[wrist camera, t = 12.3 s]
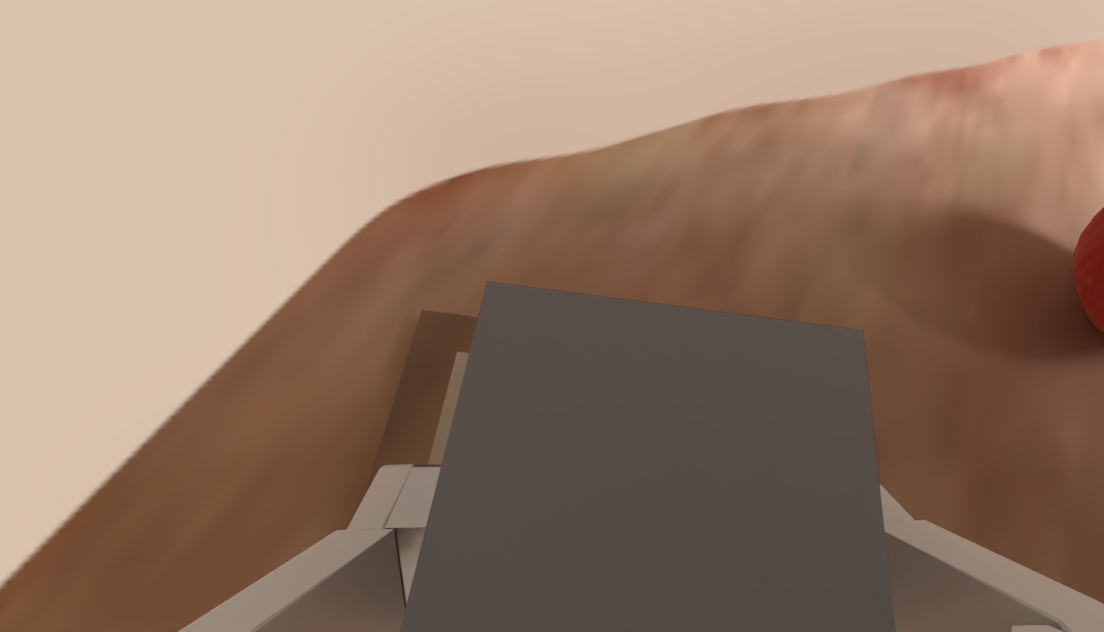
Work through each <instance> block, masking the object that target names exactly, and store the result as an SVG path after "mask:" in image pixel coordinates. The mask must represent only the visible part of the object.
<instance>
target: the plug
mask: <svg viewBox="0 0 1104 632" xmlns="http://www.w3.org/2000/svg"><path fill="white" fill-rule="evenodd" d="M400 632H896V630H895V621H894V612H893V603H892V593H891V584H890V575H889V566H888V557H887V547H886V538H885V529H884V520H883V511H882V501H881V492H880V483H879V474H878V465H877V455H876V446H875V437H874V428H873V419H872V409H871V400H870V391H869V382H868V373H867V363H866V354H865V345H864V336H863V330H856V329H849V328H841V327H833V326H826V325H818V324H810V323H803V322H795V321H787V320H780V319H772V318H764V317H757V316H749V315H741V314H733V313H726V312H718V311H710V310H703V309H695V308H687V307H680V306H672V305H664V304H657V303H649V302H641V301H634V300H626V299H618V298H611V297H603V296H595V295H588V294H580V293H572V292H565V291H557V290H549V289H541V288H534V287H526V286H518V285H511V284H503V283H495V282H488V281H487V284H486V288H485V292H484V296H483V300H482V304H481V308H480V312H479V316H478V320H477V324H476V328H475V332H474V336H473V340H472V344H471V348H470V352H469V356H468V360H467V364H466V368H465V372H464V376H463V380H462V384H461V388H460V392H459V396H458V400H457V404H456V408H455V412H454V416H453V420H452V424H451V428H450V432H449V436H448V440H447V444H446V448H445V452H444V456H443V460H442V464H441V468H440V472H439V476H438V480H437V484H436V488H435V492H434V496H433V500H432V504H431V508H430V512H429V516H428V520H427V524H426V528H425V532H424V536H423V540H422V544H421V548H420V552H419V556H418V560H417V564H416V568H415V572H414V576H413V580H412V584H411V588H410V592H409V596H408V600H407V604H406V608H405V612H404V616H403V620H402V624H401V628H400Z"/></svg>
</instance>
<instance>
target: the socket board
mask: <svg viewBox="0 0 1104 632" xmlns="http://www.w3.org/2000/svg"><path fill="white" fill-rule="evenodd" d="M477 320H478V318H476V317H468V316H461V315H454V314H446V313H439V312H432V311H425V310H422V313H421V316H420V319H419V322H418V326H417V329H416V332H415V336H414V339H413V342H412V345H411V349H410V352H409V355H408V359H407V362H406V365H405V368H404V372H403V375H402V378H401V382H400V385H399V388H398V391H397V395H396V398H395V401H394V404H393V408H392V411H391V414H390V418H389V421H388V424H387V427H386V431H385V434H384V437H383V441H382V444H381V447H380V450H379V454H378V457H377V460H376V464H375V467H374V470H373V473H372V477H371V480H370V483H369V487H370V485H371V483H372V481H373V480H374V478H375V476H376V474H377V472H378V470H379V469H380V468H381V467H382V466H385V465H402V464H413V465H416V464H439V465H441V464H442V460H443V456H444V452H445V448H446V444H447V440H448V436H449V432H450V428H451V424H452V420H453V416H454V412H455V408H456V404H457V400H458V396H459V392H460V388H461V384H462V380H463V376H464V372H465V368H466V364H467V360H468V356H469V352H470V348H471V344H472V340H473V336H474V332H475V328H476V324H477ZM369 487H368V489H369ZM367 491H368V490H367Z"/></svg>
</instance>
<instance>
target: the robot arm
mask: <svg viewBox="0 0 1104 632" xmlns="http://www.w3.org/2000/svg"><path fill="white" fill-rule="evenodd" d="M440 468H441V465H439V464H416V465H413V464H402V465H385V466H382V467H381V468H380V469H379V470H378V472H377V474H376V476H375V478H374V480H373V481H372V483H371V485H370V487H369V489H368V491H367V492H366V494H365V496H364V498H363V500H362V502H361V504H360V505H359V507H358V509H357V511H356V513H355V515H354V516H353V518H352V520H351V522H350V524H349V526H348V527H347V529H346V530H336V531H334V532H333V533H331V534H330V535H328V536H327V537H325V538H323V539H322V540H320V541H319V542H317V543H316V544H314V545H312V546H311V547H309V548H308V549H306V550H305V551H303V552H301V553H300V554H298V555H297V556H295V557H294V558H292V559H290V560H289V561H287V562H286V563H284V564H283V565H281V566H280V567H278V568H276V569H275V570H273V571H272V572H270V573H269V574H267V575H265V576H264V577H262V578H261V579H259V580H258V581H256V582H254V583H253V584H251V585H250V586H248V587H247V588H245V589H244V590H242V591H240V592H239V593H237V594H236V595H234V596H233V597H231V598H229V599H228V600H226V601H225V602H223V603H222V604H220V605H218V606H217V607H215V608H214V609H212V610H211V611H209V612H208V613H206V614H204V615H203V616H201V617H200V618H198V619H197V620H195V621H193V622H192V623H190V624H189V625H187V626H186V627H184V628H182V629H181V630H179V631H178V632H400V628H401V624H402V620H403V616H404V612H405V608H406V604H407V600H408V596H409V592H410V588H411V584H412V580H413V576H414V572H415V568H416V564H417V560H418V556H419V552H420V548H421V544H422V540H423V536H424V532H425V528H426V524H427V520H428V516H429V512H430V508H431V504H432V500H433V496H434V492H435V488H436V484H437V480H438V476H439V472H440ZM880 492H881V501H882V511H883V520H884V529H885V538H886V547H887V557H888V566H889V575H890V584H891V593H892V603H893V612H894V621H895V630H896V632H1104V604H1103V603H1101V602H1099V601H1097V600H1095V599H1093V598H1091V597H1088V596H1086V595H1084V594H1082V593H1080V592H1078V591H1076V590H1074V589H1071V588H1069V587H1067V586H1065V585H1063V584H1061V583H1059V582H1056V581H1054V580H1052V579H1050V578H1048V577H1046V576H1044V575H1042V574H1039V573H1037V572H1035V571H1033V570H1031V569H1029V568H1027V567H1024V566H1022V565H1020V564H1018V563H1016V562H1014V561H1012V560H1010V559H1007V558H1005V557H1003V556H1001V555H999V554H997V553H995V552H993V551H990V550H988V549H986V548H984V547H982V546H980V545H978V544H975V543H973V542H971V541H969V540H967V539H965V538H963V537H961V536H958V535H956V534H954V533H952V532H950V531H948V530H946V529H943V528H941V527H939V526H937V525H935V524H933V523H931V522H929V521H926V520H914V519H913V518H912V517H911V516H910V515H909V514H908V513H907V511H906V510H905V509H904V508H903V507H902V506H901V505H900V504H899V503H898V502H897V501H896V500H895V499H894V498H893V497H892V496H891V495H890V494H889V493H888V492H887V491H886V490H885V488H884V487H883V486H882V485H881V484H880Z"/></svg>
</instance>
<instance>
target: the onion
mask: <svg viewBox="0 0 1104 632" xmlns="http://www.w3.org/2000/svg"><path fill="white" fill-rule="evenodd" d="M1073 278H1074V282H1075V287H1076V290H1077V293H1078V295H1079V298H1080V300H1081V303H1082V305H1083V307H1084V309H1085V310H1086V314H1087V316H1088V318H1089V320H1090V322H1091V323H1092V324H1093V325H1094V326H1095V328H1096V329H1097V330H1099V331H1101V332H1103V333H1104V207H1103V208H1102V209H1101V210H1100V211H1099V212H1098V213H1097V214H1096V215H1095V216H1094V218H1093V219H1092V220H1091V222H1090V223H1089V224H1088V226H1087V227H1086V228H1085V230H1084V231H1083V232H1082V234H1081V236H1080V238H1079V241H1078V244H1077V246H1076V249H1075V251H1074V259H1073Z"/></svg>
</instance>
